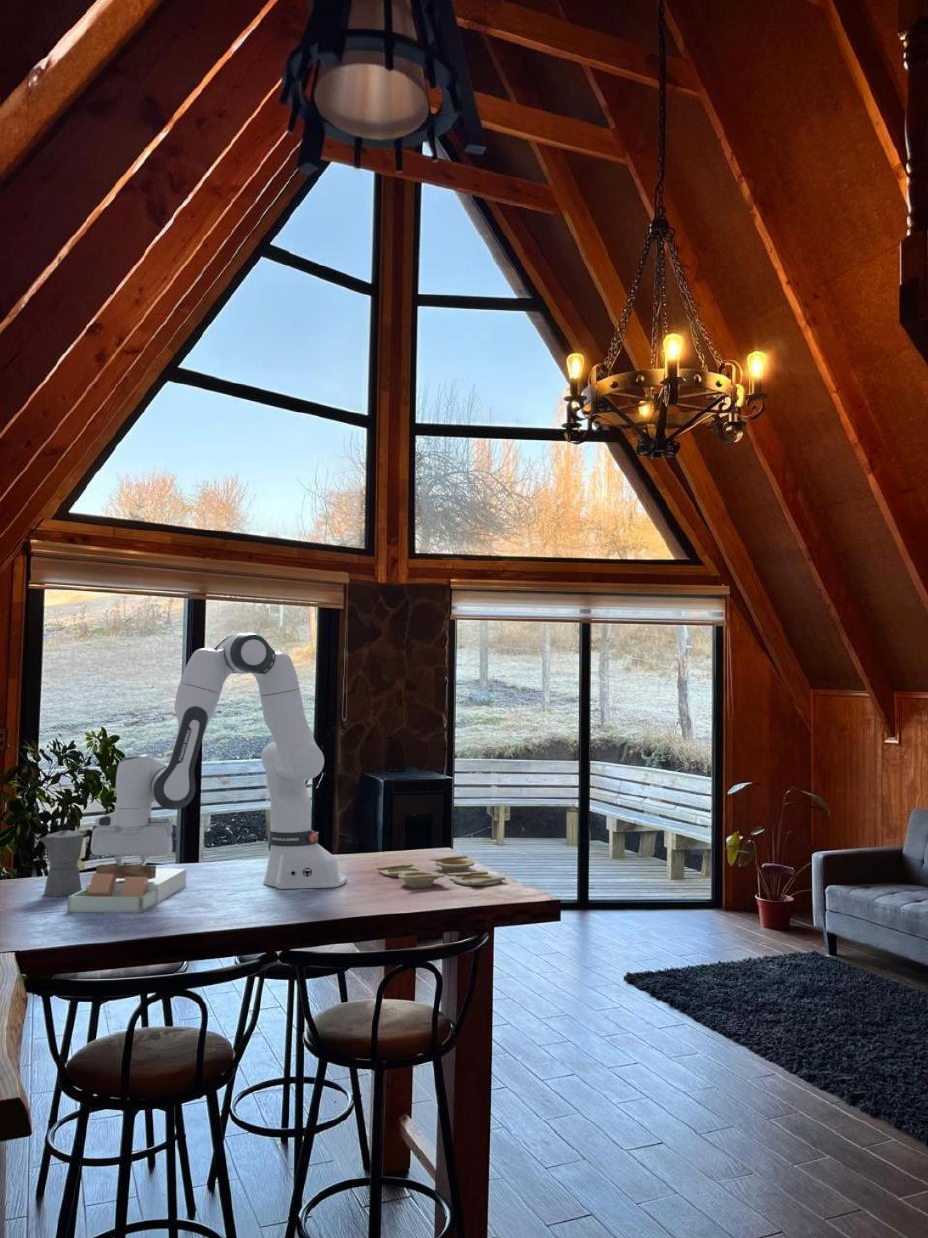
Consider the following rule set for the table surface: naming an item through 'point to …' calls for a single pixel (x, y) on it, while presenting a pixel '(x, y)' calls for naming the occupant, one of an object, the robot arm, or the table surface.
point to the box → (111, 902)
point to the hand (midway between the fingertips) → (131, 873)
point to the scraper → (128, 870)
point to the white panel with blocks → (161, 882)
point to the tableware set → (450, 865)
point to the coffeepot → (65, 861)
